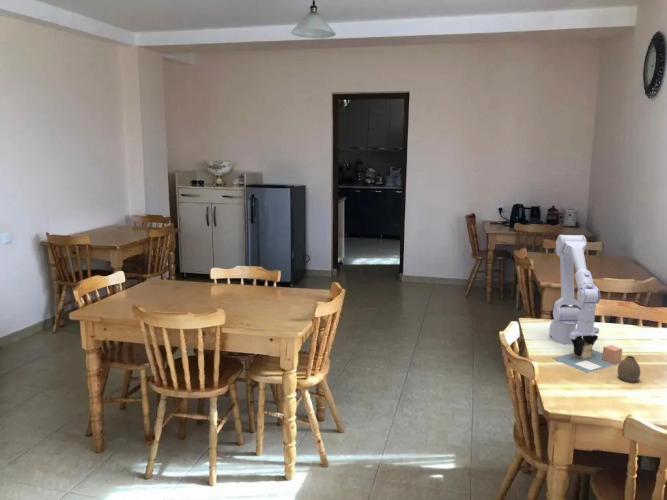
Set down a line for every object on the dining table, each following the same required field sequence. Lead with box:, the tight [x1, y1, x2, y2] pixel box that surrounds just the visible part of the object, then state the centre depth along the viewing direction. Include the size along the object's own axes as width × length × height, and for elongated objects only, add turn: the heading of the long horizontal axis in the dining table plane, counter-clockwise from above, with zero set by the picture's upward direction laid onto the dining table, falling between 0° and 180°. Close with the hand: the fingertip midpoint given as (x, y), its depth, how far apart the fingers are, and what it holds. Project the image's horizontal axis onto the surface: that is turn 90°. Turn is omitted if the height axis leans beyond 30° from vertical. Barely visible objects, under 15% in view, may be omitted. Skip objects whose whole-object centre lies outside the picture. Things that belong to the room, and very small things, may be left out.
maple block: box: [572, 342, 593, 359], centre depth 213 cm, size 4×4×5 cm
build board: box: [551, 349, 624, 374], centre depth 210 cm, size 15×22×1 cm
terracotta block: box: [602, 344, 623, 364], centre depth 209 cm, size 4×4×5 cm
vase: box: [617, 355, 641, 383], centre depth 193 cm, size 7×7×9 cm
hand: (582, 354), depth 213 cm, fingers closed on maple block, 4 cm apart
